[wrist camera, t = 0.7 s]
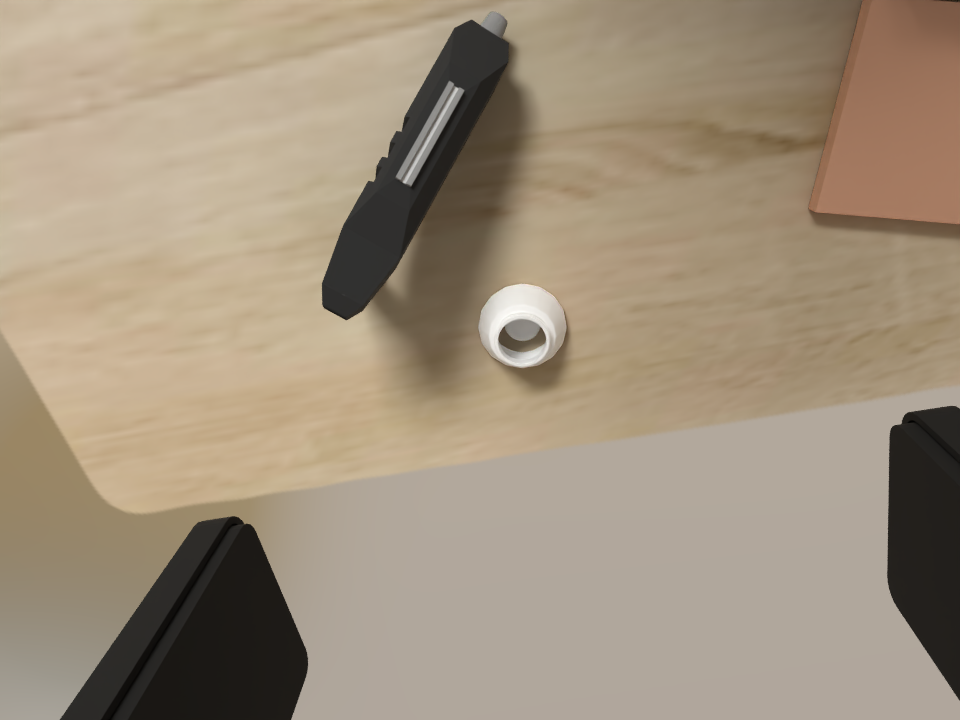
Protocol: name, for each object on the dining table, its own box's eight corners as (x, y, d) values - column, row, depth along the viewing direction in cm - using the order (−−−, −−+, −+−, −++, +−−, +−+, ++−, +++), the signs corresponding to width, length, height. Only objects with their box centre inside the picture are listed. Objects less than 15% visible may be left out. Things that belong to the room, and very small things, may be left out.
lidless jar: (573, 291, 40) (488, 274, 40) (577, 307, 37) (485, 290, 37) (554, 369, 42) (473, 353, 42) (556, 390, 39) (469, 373, 39)
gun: (493, 95, 41) (537, 8, 31) (361, 334, 39) (362, 323, 30) (451, 69, 40) (482, -27, 31) (316, 310, 39) (302, 291, 29)
